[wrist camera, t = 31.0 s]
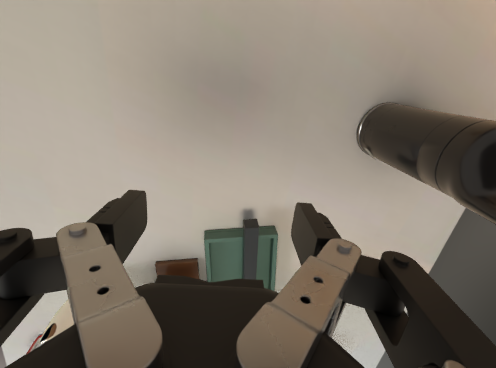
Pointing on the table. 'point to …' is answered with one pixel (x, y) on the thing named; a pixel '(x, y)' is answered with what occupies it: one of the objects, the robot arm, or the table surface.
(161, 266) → the stand
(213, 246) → the tray
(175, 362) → the robot arm
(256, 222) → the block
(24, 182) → the table surface
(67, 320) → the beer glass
